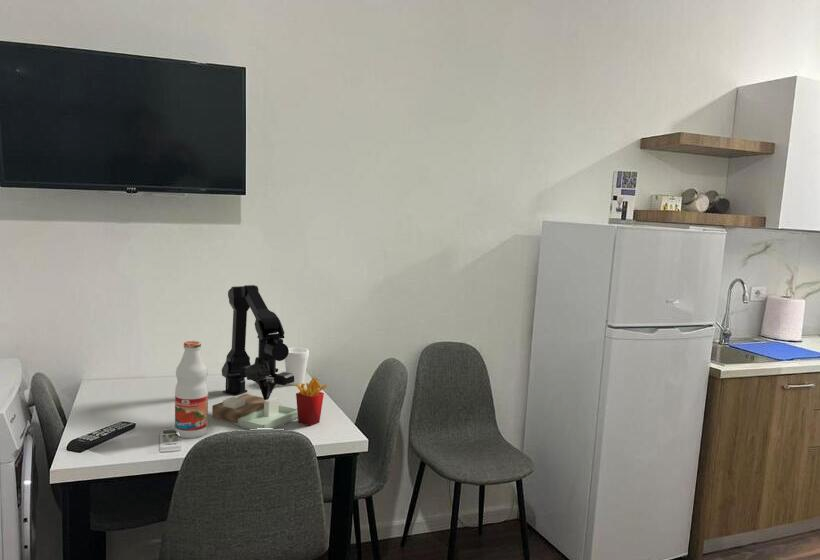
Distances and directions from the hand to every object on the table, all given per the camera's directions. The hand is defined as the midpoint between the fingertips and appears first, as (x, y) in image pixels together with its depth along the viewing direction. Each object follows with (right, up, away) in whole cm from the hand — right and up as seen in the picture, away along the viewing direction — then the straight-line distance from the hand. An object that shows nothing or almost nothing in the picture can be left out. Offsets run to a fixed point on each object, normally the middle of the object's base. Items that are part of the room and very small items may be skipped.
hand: (266, 400), depth 219 cm
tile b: (-10, -1, -4) cm, 10 cm away
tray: (+3, -6, -5) cm, 8 cm away
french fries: (+16, -7, -4) cm, 18 cm away
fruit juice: (-18, -7, -19) cm, 27 cm away
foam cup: (+3, -1, +39) cm, 39 cm away
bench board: (-7, -5, 0) cm, 9 cm away
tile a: (+1, -2, 0) cm, 2 cm away
